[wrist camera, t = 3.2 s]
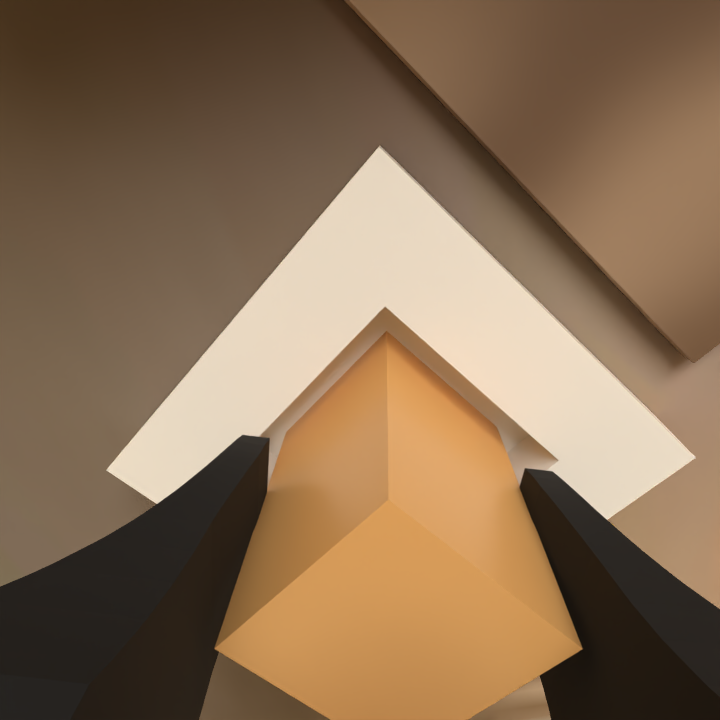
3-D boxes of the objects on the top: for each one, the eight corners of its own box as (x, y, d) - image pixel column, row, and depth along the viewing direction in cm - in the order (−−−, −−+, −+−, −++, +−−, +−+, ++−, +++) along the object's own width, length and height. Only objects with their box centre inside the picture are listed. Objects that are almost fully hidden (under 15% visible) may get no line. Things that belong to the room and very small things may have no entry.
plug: (496, 427, 14) (583, 648, 8) (393, 513, 15) (398, 761, 9) (386, 330, 13) (388, 499, 7) (286, 432, 14) (214, 648, 8)
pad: (1074, 46, 10) (1113, 41, 10) (680, 353, 13) (693, 363, 13) (723, -596, 7) (750, -655, 7) (320, -25, 10) (317, -34, 10)
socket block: (654, 414, 14) (696, 457, 12) (396, 608, 17) (398, 665, 15) (379, 144, 12) (378, 146, 10) (140, 428, 15) (106, 470, 13)
